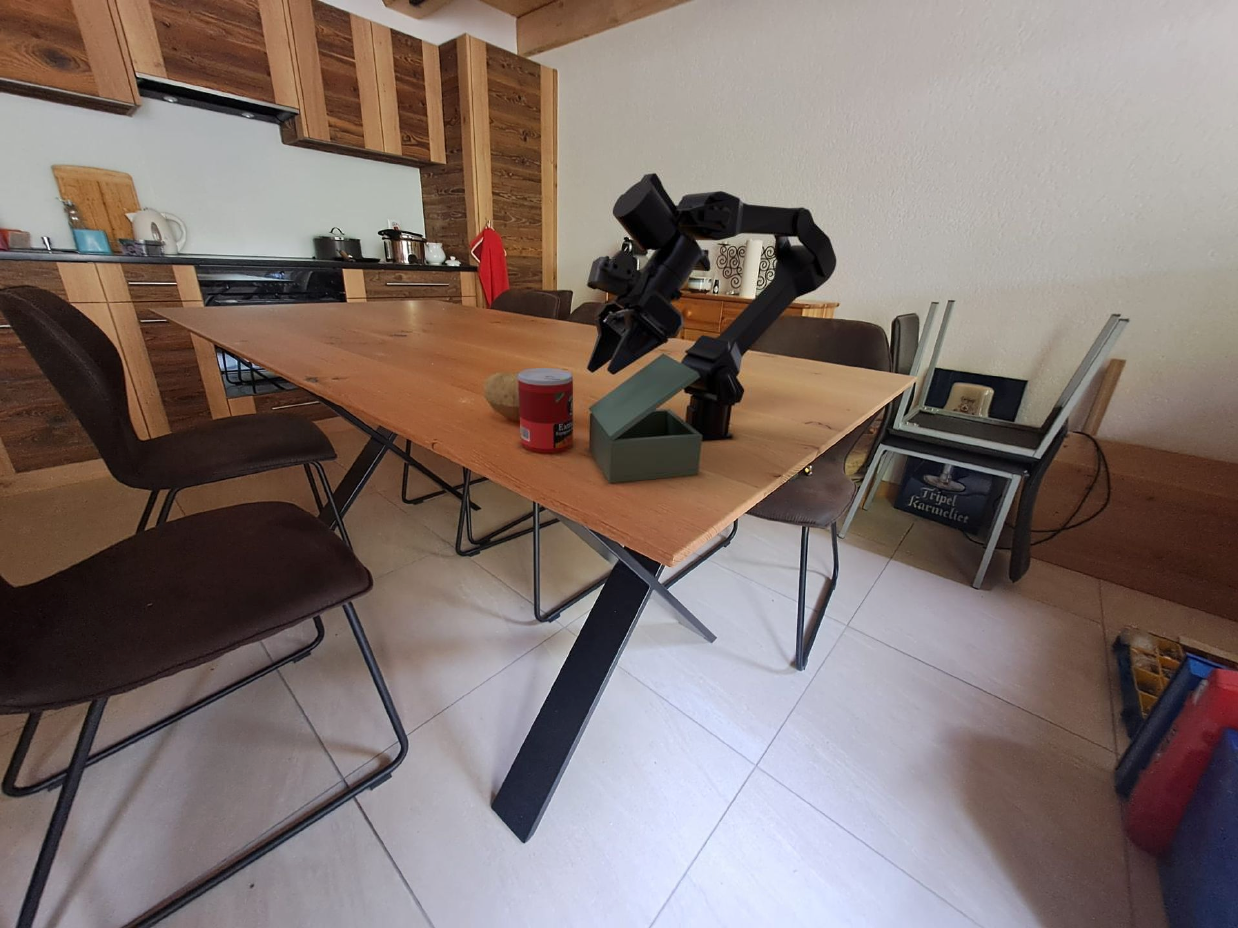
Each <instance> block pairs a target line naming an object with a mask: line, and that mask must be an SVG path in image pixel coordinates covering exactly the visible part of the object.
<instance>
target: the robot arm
mask: <svg viewBox="0 0 1238 928" xmlns="http://www.w3.org/2000/svg"><path fill="white" fill-rule="evenodd" d="M612 215H613V217H614V218H615V219H616V221H617V222H618V223H619V224H620V226H621V227H622V228H623V229H624V231H626V233H627V234H628V235H629V237H630V238H631V239H632V241H633V242H634V243H635V244H636V245H637V247H638V249H640V250H641V251H649V250H650V251H653V253H652V254H651V256H650V257H649V258H648V260H647V262H646V263H645V265H644V266H643V267H642V268H640V269H637V268H636V266H634V265H635V264H634V261H633V254H632V253H630V252H629V251H626V250H624V249H620V250H618V251H617V252H616V253H615V254H614V255H613V256H612V257H611V258H610V256H609V255H605V256H599V257H598V258H596V259H594V260H593V261H592V264H591V267H590V272H589V275H588V279H587V283H586V286H587V288H589V289H591V290H599V291H600V292H601V291H602V292H604V293H606V294H609V295H613V296H616V297H615V298H614V299H613V301H614V302H615V303H609V304H608V303H607V304H605V305H602V306H600V307H599V308H598V309H597V310H596V311H595V314H593V319H594V320H593V323H594V325H595V327H596V331H597V337H596V341H595V343H594V346H593V349H592V352H591V354H590V357H589V360H588V363H587V366H586V370H588V371H589V372H590V373H592V374H593V373H595V372H596V371H599V369H600V368H602V367H603V366H604V365H606V364H607V363H608V362H609V363H608V365H607V368H606V371H607V372H608V373H609V374H611V375H613V376H614V375H616V374H618V373H619V372H621V371H622V370H624V369H625V368H627V367H628V366H630V365H632V364H633V363H635V362H636V361H637V360H639V359H641V358H642V357H644V356H646V355H647V354H650V353H651V352H653V351H654V350H656V349H657V348H658V347H661V346H662V345H664V344H667V343H668V342H669V340H671V339H676V338H677V336H678V335H679V334H680V332H681V330H682V329H683V327H684V324H685V323H684V316H683V313H681V311H680V310H679V309H677V308H676V307H675V306H674V305H673V304H672V303H674V302H677V301H679V300H680V299H681V298H682V296H683V294H684V293H683V292H682V291H681V289H682V288H683V287H684V285H685V284H686V282H687V280H688V279H689V278H690V276H691V274H692V273H693V272H694V271H696V272H697V271H698V272H710V270H711V261H710V258H709V257H710V256H709V254H710V251H709V249H702V247H701V246H700V245H699V243H698V242H697V241H716V242H717V241H722V240H727V239H730V238H735V237H736V236H739V235H741V234H742V235H743V234H746V235H747V234H749V235H770V236H773V238H774V239H775V241H774V249H773V256H774V258H775V260H776V263H775V265H774V273H773V278H772V279H771V281H770V282H769V283H768V284H767V285H766V286H765V287H764V288H763V289H762V290H761V291H760V292H759V293H758V294H757V295H756V296H755V297H754V299H752V301H751V302H750V303H749V304H748V305H747V306H746V307H745V308H744V309H743V310H742V311H741V312H740V314H738V315H737V316H736V318H735V319H734V320H733V321H732V322H731V323H730V324H729V325H728V326H727V327H726V328H725V329H724V331H722V332H721V334H719V335H718V336H717V337H714V336H709V335H705V334H702V335H700V336H699V337H698V338H697V339H696V341H695V342H694V344H693V345H692V346H691V347H690V348H687V349H685V351H684V353H685V355H684V356H683V358H682V359H681V361H680V363H682V364H683V365H685V366H687V367H689V368H691V369H693V370H694V371H696V372H698V374H699V376H700V377H699V378H698V379H697V380H695V381H694V382H693V383H691V384H690V385H688V386H687V387H686V388H684V389H683V392H684V394H686V395H687V394H688V395H690V397H689V398H690V399H689V404H687V405H686V411H685V418H684V421H685V422H686V423H687V424H689V425H690V426H691V427H692V428H694V429H695V430H696V431H697V432H699V433H700V434H701V435H702V441H708V440H719V439H721V440H722V439H731V438H734V434H733V433H732V432H730V424H731V416H732V409H733V406H736V404H739V403H741V401H742V399H743V396H744V394H745V388H744V386H743V385H742V383H741V382H740V380H739V379H738V376H739V375H740V372H741V366H742V359H743V357H744V355H745V354H746V353H747V352H748V351H749V350H750V349H751V347H752V346H754V345H755V343H756V342H757V341H758V340H759V339H760V338H761V337H762V336H763V335H764V334H765V332H766V331H768V330H769V328H770V327H771V326H772V325H773V324H774V323H775V322H776V321H777V319H779V317H781V315H782V314H783V313H784V312H785V311H786V310H787V309H788V308H789V307H790V305H792V304H793V302H794V301H795V300H797V298H800V297H802V296H805V295H807V294H810V293H813V292H815V291H817V290H818V289H819V288H820V287H822V286H823V285H824V284H825V283H827V282H828V281H829V279H830V278H831V277H832V276H833V274H834V272H835V270H836V267H837V256H836V254H835V250H834V247H833V244H832V241H831V239H830V237H829V235H827V234H826V233H825V232H824V231H823V229H821V228H820V227H819V226H818V225H817V224H816V223H815V220H814V218H813V215H812V212H811V210H809V209H808V208H805V207H804V206H803V207H802V206H800V207H782V206H773V205H772V206H771V205H758V204H748V203H745V202H743V201H742V200H741V199H740V198H739V196H736V195H733V194H730V193H728V192H725V191H723V190H717V191H709V192H708V191H707V192H699V193H698V192H697V193H688V194H685V195H683V196H682V197H681V200H680V201H679V202H678V204H675V203H674V201H673V200H672V198H671V196H670V195H669V194H668V192H667V190H666V189H665V187H664V186H663V183H662V180H661V179H660V178H659V176H658V175H657V173H656V172H655V173H654V172H653V173H646V174H643V176H642V178H641V180H640V181H638V182H636V183H635V184H633V185H632V186H631V187H629V188H628V189H627V190H626V191H625V192H624V193H622V194H621V195H620V196H619V197H618V198H617V199H616V201H615V203H614V205H613V208H612ZM789 238H797V240H798V242H799V243H801V244H793V245H792V244H791V242H790V239H789ZM621 307H622V308H621Z"/></svg>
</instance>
